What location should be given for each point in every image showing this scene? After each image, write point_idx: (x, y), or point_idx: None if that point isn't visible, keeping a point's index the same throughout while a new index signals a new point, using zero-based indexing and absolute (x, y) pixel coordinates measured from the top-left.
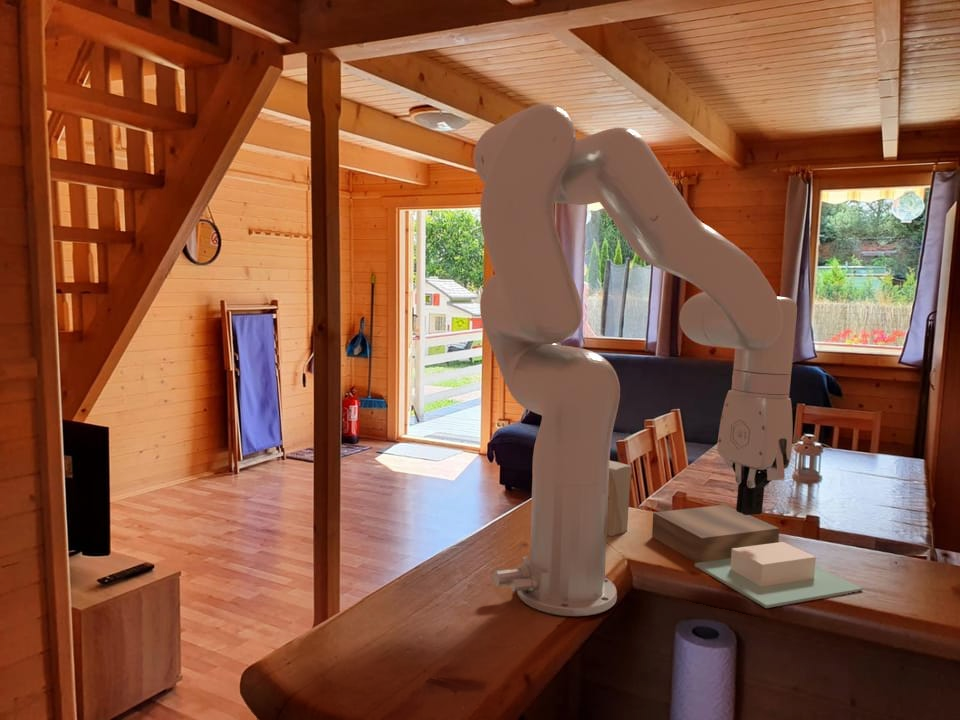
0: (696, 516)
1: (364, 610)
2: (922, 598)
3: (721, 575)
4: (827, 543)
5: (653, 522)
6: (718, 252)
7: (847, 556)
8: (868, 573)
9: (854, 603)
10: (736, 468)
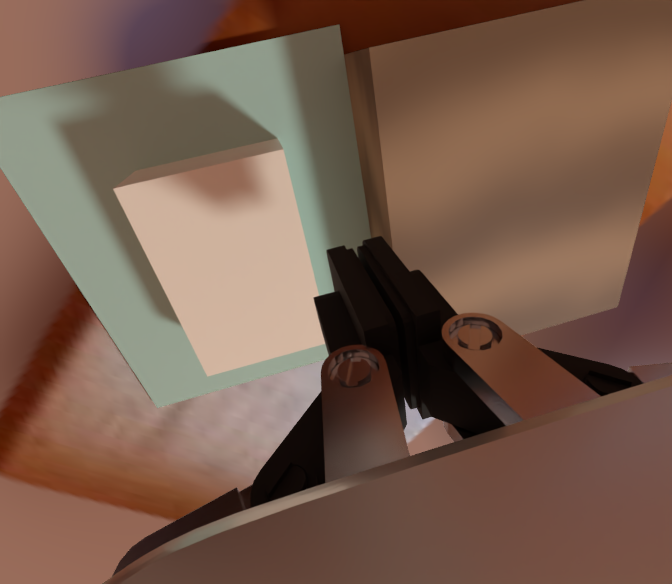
0: (580, 161)
1: None
2: (135, 478)
3: (224, 73)
4: (415, 434)
5: None
6: None
7: None
8: (259, 444)
9: (80, 362)
10: (555, 379)
